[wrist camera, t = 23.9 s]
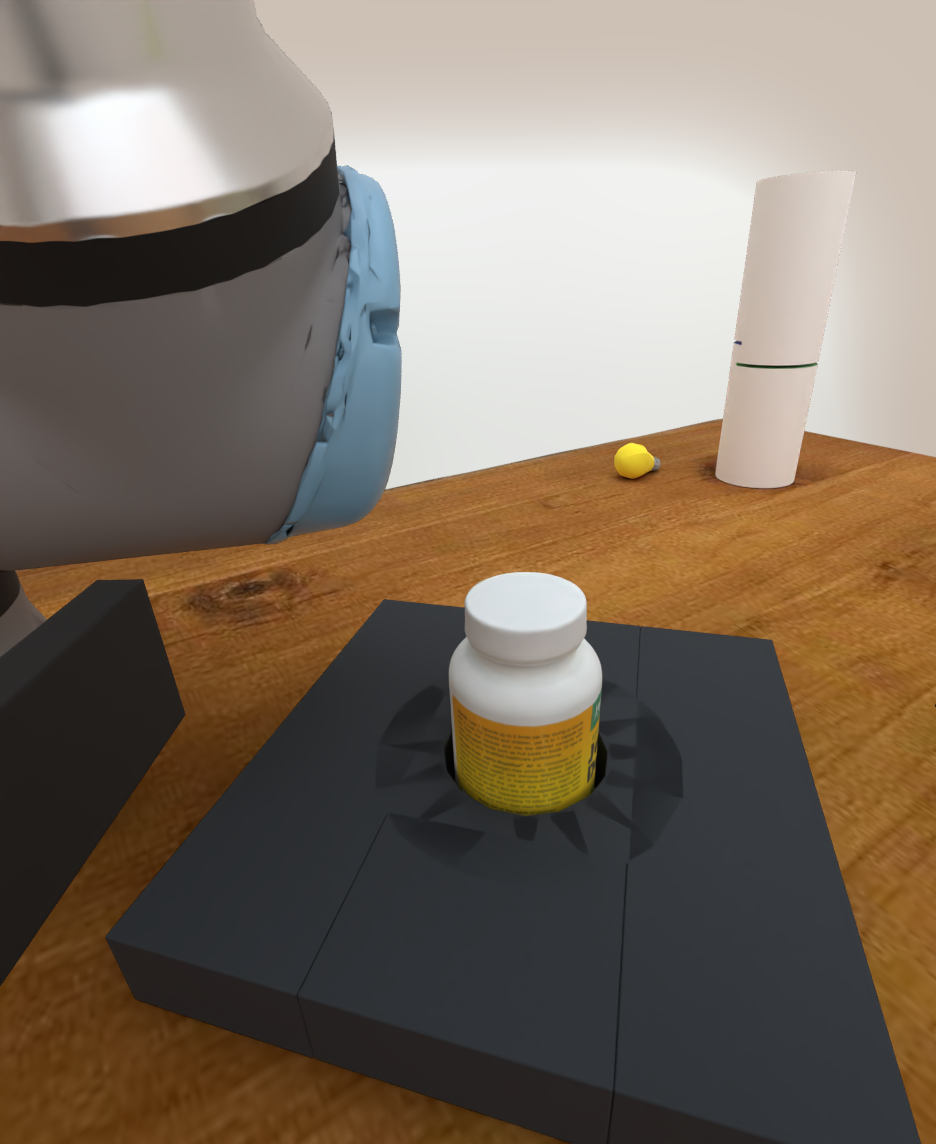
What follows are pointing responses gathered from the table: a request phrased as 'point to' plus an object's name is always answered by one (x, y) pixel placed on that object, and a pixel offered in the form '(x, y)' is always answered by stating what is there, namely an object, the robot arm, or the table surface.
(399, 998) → the stand
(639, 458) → the light bulb
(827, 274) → the cylindrical container
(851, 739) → the table surface
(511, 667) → the supplement bottle
